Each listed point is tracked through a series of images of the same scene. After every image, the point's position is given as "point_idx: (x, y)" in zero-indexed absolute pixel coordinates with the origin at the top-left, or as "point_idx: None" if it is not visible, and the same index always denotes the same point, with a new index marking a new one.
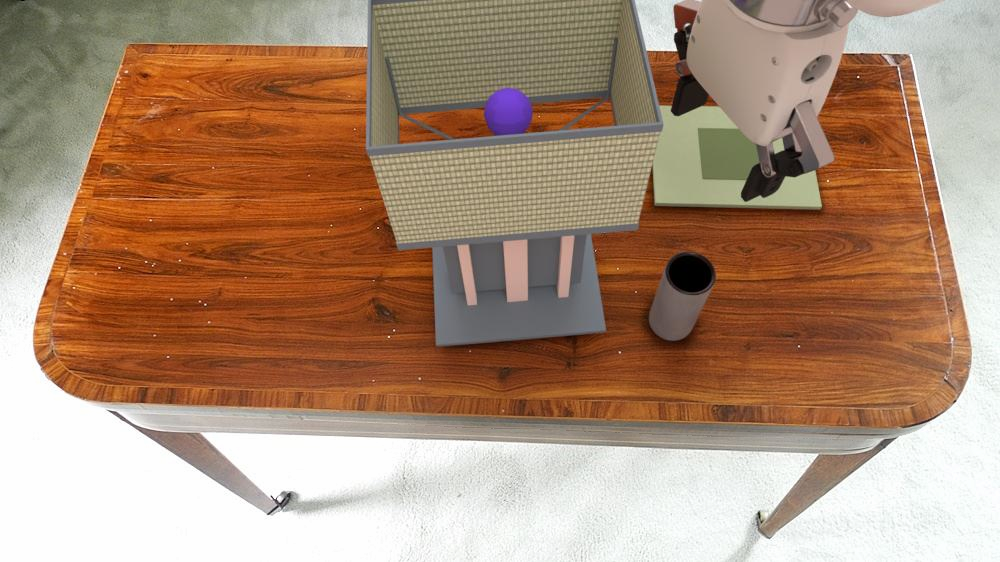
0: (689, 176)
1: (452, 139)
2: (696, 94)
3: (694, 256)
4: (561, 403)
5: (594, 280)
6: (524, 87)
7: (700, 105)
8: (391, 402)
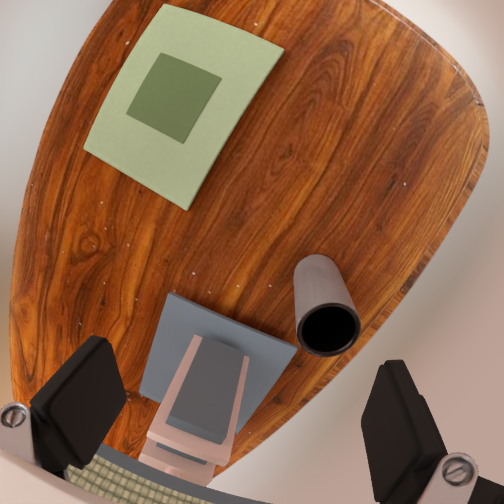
0: (173, 155)
1: None
2: (94, 404)
3: (312, 313)
4: (322, 382)
5: (245, 331)
6: None
7: (111, 356)
8: (256, 445)
